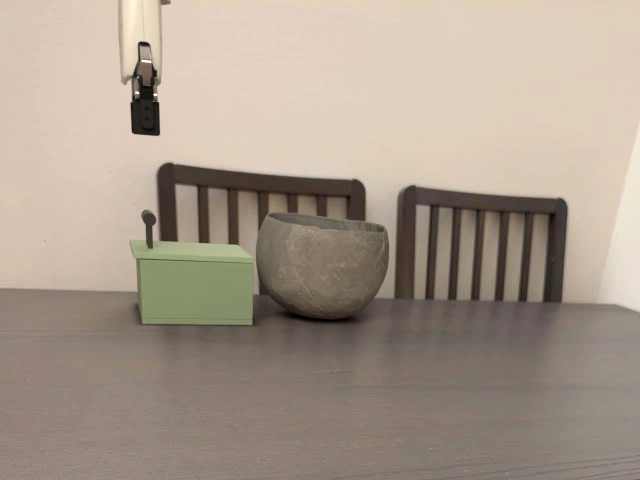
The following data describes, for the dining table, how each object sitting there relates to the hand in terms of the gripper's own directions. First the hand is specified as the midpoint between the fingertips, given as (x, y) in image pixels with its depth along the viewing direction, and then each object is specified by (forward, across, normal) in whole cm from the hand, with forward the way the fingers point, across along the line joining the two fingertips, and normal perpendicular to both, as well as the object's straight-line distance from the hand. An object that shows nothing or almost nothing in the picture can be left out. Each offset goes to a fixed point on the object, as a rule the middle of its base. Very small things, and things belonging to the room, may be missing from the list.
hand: (145, 135), depth 99 cm
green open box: (+24, 0, +6) cm, 25 cm away
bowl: (+24, 0, +26) cm, 36 cm away
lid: (+15, 0, +6) cm, 16 cm away
